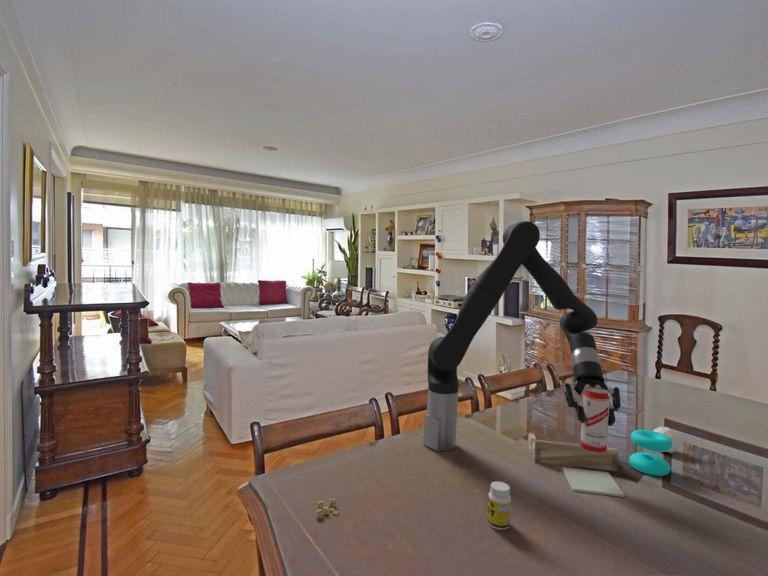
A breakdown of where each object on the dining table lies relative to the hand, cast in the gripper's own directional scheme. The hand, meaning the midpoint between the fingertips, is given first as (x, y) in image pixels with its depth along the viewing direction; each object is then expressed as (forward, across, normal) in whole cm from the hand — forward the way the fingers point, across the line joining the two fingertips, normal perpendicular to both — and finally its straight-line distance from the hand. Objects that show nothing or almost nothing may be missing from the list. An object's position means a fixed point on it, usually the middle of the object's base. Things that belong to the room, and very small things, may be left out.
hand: (597, 422), depth 111 cm
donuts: (+2, +19, +22) cm, 29 cm away
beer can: (+5, 0, +7) cm, 8 cm away
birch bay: (0, -2, +23) cm, 23 cm away
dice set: (+32, -63, -8) cm, 71 cm away
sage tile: (+11, 0, +13) cm, 16 cm away
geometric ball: (-9, +29, +32) cm, 44 cm away
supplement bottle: (+28, -26, -5) cm, 39 cm away
